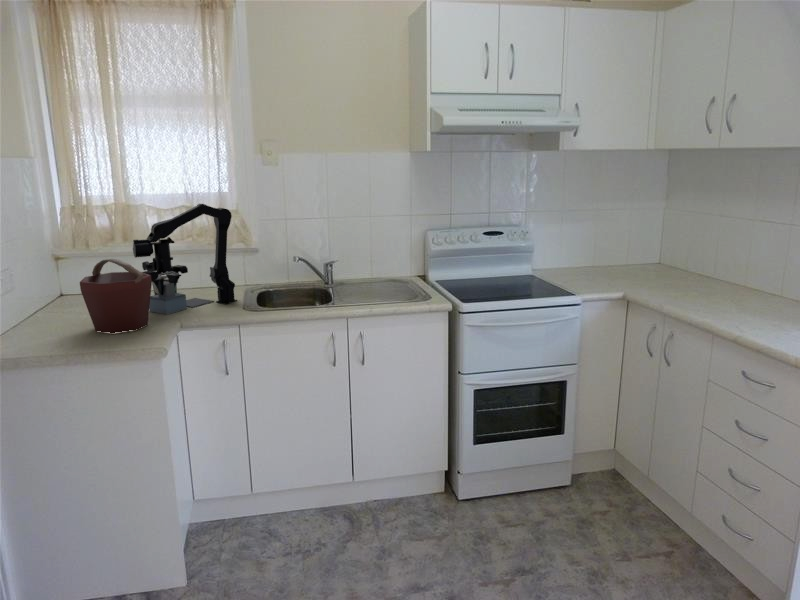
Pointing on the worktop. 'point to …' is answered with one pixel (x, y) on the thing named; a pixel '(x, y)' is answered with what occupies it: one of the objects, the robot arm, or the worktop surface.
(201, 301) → the mat
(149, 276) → the bucket
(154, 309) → the cover
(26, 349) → the worktop surface
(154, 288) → the food container
